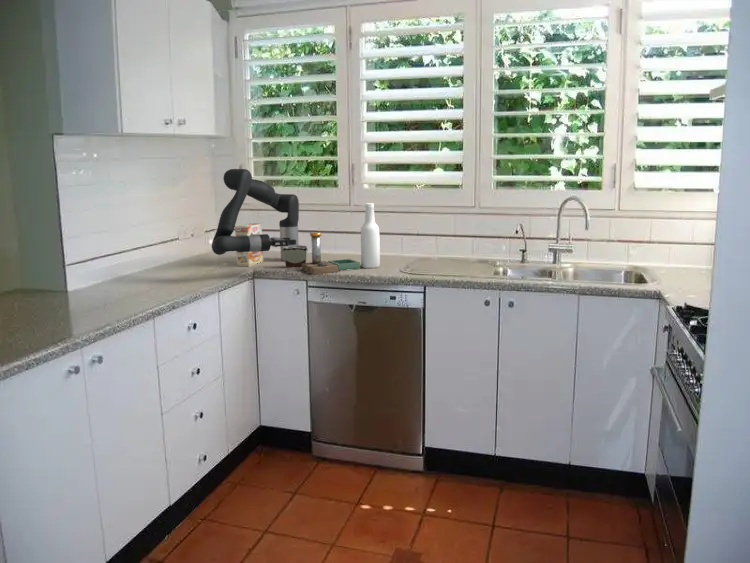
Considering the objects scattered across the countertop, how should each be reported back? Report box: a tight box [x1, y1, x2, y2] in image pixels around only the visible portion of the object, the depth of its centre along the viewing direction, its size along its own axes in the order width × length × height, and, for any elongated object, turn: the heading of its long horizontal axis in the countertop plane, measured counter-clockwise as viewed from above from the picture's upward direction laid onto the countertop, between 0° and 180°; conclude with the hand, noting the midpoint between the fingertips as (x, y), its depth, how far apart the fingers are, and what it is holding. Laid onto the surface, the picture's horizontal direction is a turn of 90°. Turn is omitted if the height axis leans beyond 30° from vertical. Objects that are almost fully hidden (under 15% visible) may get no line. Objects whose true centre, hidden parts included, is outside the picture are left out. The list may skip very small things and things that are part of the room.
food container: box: [282, 244, 309, 269], centre depth 321 cm, size 12×6×10 cm, turn 84°
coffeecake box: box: [234, 222, 264, 267], centre depth 330 cm, size 15×7×20 cm, turn 161°
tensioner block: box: [301, 260, 339, 275], centre depth 309 cm, size 15×12×4 cm
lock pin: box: [309, 231, 322, 265], centre depth 311 cm, size 5×5×17 cm
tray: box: [327, 258, 361, 271], centre depth 316 cm, size 12×11×3 cm
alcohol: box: [360, 202, 381, 269], centre depth 315 cm, size 9×9×30 cm
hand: (292, 240), depth 305 cm, fingers open, 8 cm apart
